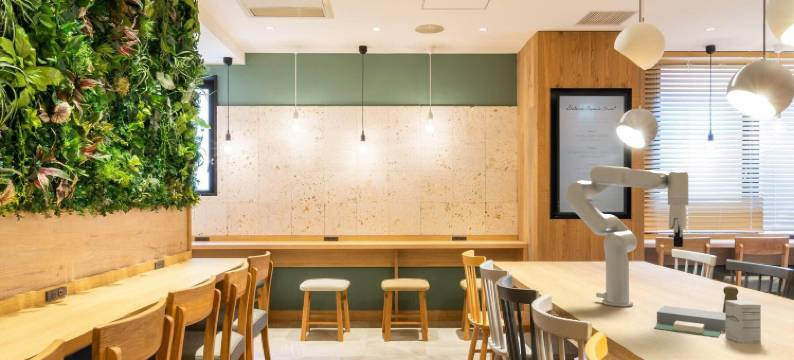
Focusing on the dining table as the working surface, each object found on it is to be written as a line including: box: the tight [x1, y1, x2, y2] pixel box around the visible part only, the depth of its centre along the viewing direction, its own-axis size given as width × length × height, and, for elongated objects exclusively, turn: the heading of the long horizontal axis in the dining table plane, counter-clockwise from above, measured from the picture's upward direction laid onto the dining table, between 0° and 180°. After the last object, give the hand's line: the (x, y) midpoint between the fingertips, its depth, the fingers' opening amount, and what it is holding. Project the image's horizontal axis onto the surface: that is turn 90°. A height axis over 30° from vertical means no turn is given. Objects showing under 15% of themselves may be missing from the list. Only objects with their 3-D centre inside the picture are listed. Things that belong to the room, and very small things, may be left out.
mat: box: [653, 323, 722, 338], centre depth 193 cm, size 20×10×1 cm, turn 54°
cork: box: [721, 285, 739, 313], centre depth 220 cm, size 6×6×11 cm
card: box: [674, 321, 704, 333], centre depth 192 cm, size 9×6×2 cm, turn 55°
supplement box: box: [725, 299, 762, 344], centre depth 180 cm, size 7×7×13 cm
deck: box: [656, 305, 726, 332], centre depth 204 cm, size 22×14×4 cm, turn 54°
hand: (678, 246), depth 220 cm, fingers closed
